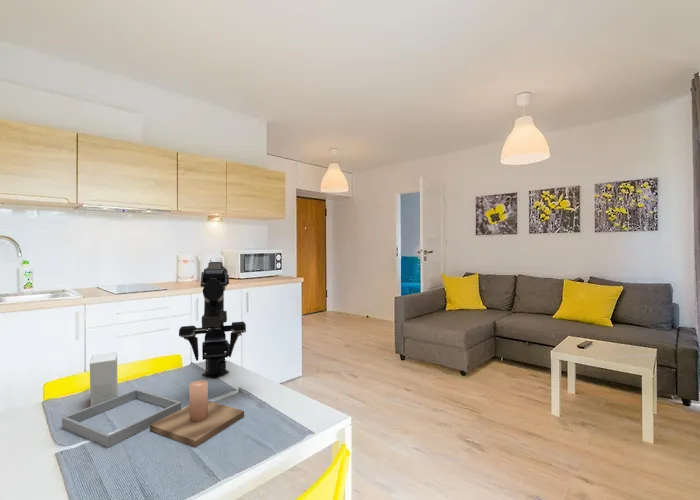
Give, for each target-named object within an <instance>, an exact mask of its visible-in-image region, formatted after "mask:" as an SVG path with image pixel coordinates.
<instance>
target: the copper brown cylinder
mask: <svg viewBox="0 0 700 500" xmlns="http://www.w3.org/2000/svg"><path fill="white" fill-rule="evenodd" d="M188 387H189V389H188V391H189V393H188V394H189V397H188V399H189V401H188V402H189V405H188V406H189V420H190V421H192V422H199V421H202V420H205V419H206V418H207V417H208V401H209V399H208V397H209V396H208V395H209V394H208V393H209V392H208V389H209V381H208V380H206V379H200V380H199V379H197V380H194V381H191V382H189V386H188Z"/></svg>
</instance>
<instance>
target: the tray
mask: <svg viewBox="0 0 700 500" xmlns="http://www.w3.org/2000/svg"><path fill="white" fill-rule="evenodd" d="M134 400H140V401H143V402H146V403H149V404H153V405H154V406H159V407H162V408H163V409H161V410H159V411H157V412H155V413H152V414H150V415H148V416H146V417H144V418H141V419H139V420H137V421H135V422H133V423H132V424H129V425H126V426H125V427H122V428H121V429H118V430H117V431H114V432H111V433H106V432H105V431H101V430H99V429H96V428H94V427H92V426H90V425H86V424H85V423H82V421H84V420H87V419H89V418H92V417H94V416H97V415H100V414H102V413H105V412H107V411H109V410H111V409H114V408H117V407H119V406H122V405H124V404H126V403H130V402H132V401H134ZM181 409H182V402H181V401H179V400H175V399H171V398H169V397H168V398H167V397H165V396H162V395H158V394H155V393H153V392H152V393H151V392H147V391H145V390H141V389H139V388H138V389H137V388H136V389H133V390H131V391H128V392H125V393H123V394H121V395H118V396H117V397H115V398H112V399H110V400H107V401H105V402H102V403H99V404H97V405H94V406H92V407H90V406H89V407H86V408H84V409H81V410H79V411H75V412H73V413H70V414H68V415H66V416H63V417H62V418H61V428H62V429H65V430H66V431H69V432H71V433H74V434H75V435H79V436H81V437H83V438H85V439H88V440H90V441H92V442H95V443H97V444H99V445H101V446H104V447H106V448H111V447H112V446H114V445H116V444H119V443H120V442H122V441H124V440H126V439H128V438H131V437H132V436H134V435H136V434H138V433H140V432H142V431H144V430H146V429H149V428H150V425H151V424H153V423H155V422H157V421H159V420H161V419H163V418H165V417H167V416H169V415H171V414H173V413H175V412H177V411H179V410H181ZM141 430H142V431H141ZM139 431H140V432H139ZM137 432H138V433H137ZM135 433H136V434H135ZM133 434H134V435H133Z"/></svg>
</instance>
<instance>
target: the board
mask: <svg viewBox="0 0 700 500" xmlns="http://www.w3.org/2000/svg"><path fill="white" fill-rule="evenodd" d="M242 418H245V411H244V410H242V409H238V408H234V407H231V406H227V405H224V404H222V403H221V404H220V403H217V402H214V401H210V400H208V417H207V418H206V419H205V420H202V421H199V422H192V421H190V420H189V405H187V406H185V407H184V408H183V407H182V408H181V410H179V411H177V412H175V413H173V414H171V415H169V416H167V417H165V418H163V419H161V420H159V421H157V422H155V423H153V424H151V425H150V427H149V431H150V432H152V433H156V434H158V435H161V436H163V437H165V438H169V439H172V440H175V441H176V442H180V443H183V444H185V445H187V446H190V447H193V448H197V447H199V446H200V445H202V444H203V443H204V442H206V441H208V440H210V439H211V438H212V437H214V436H216V435H217V434H219V433H220V432H222V431H223V430H225V429H227V428H228V427H230V426H232V425H233V424H235V423H236V422H238V421H239V420H241V419H242Z"/></svg>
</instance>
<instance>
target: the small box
mask: <svg viewBox="0 0 700 500" xmlns="http://www.w3.org/2000/svg"><path fill="white" fill-rule="evenodd" d="M89 389H90V390H89V391H90V393H89V394H90V398H89V401H90V405H89V407H92V406H94V405H97V404H99V403H102V402H105V401H107V400H110V399H112V398H115V397H118V396H119V393H118V390H119V389H118V352H108V353H102V354H94V355H92V356H91V359H90V361H89Z"/></svg>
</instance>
